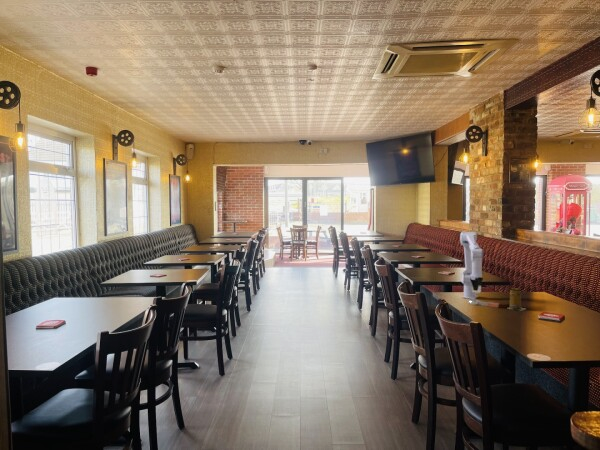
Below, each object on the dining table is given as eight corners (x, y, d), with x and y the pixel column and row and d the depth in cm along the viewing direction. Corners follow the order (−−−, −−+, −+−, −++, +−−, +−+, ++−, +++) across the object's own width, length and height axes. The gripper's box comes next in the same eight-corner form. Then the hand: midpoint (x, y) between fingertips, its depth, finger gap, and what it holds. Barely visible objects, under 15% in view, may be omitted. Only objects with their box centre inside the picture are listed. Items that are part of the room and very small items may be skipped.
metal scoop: (466, 304, 271) (466, 297, 271) (470, 302, 277) (470, 295, 277) (496, 308, 260) (496, 301, 259) (500, 306, 265) (500, 299, 265)
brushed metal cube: (480, 292, 271) (480, 285, 271) (479, 292, 268) (479, 286, 268) (474, 291, 274) (474, 284, 274) (472, 292, 271) (472, 285, 271)
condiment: (512, 306, 264) (512, 287, 263) (526, 309, 257) (526, 289, 257) (506, 308, 259) (506, 288, 259) (521, 311, 252) (521, 290, 252)
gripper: (473, 266, 279) (473, 287, 279) (466, 269, 267) (466, 290, 268) (485, 267, 274) (485, 288, 275) (478, 270, 263) (478, 292, 264)
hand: (476, 289), depth 271 cm, fingers closed on brushed metal cube, 4 cm apart
